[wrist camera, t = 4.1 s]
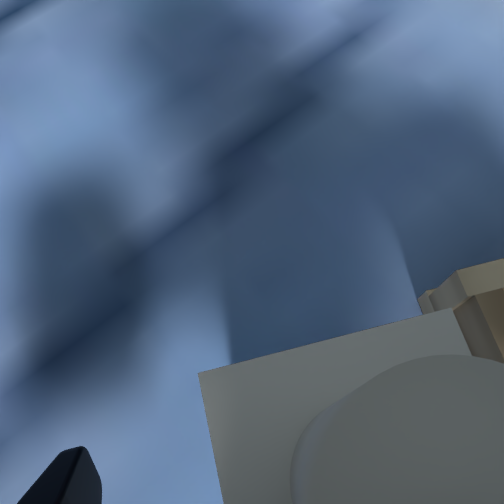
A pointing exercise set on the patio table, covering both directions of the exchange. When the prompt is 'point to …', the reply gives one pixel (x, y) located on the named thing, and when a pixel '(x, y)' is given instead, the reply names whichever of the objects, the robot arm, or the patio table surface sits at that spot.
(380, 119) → the patio table surface
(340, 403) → the grey plug
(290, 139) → the patio table surface
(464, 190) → the patio table surface
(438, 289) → the tray
